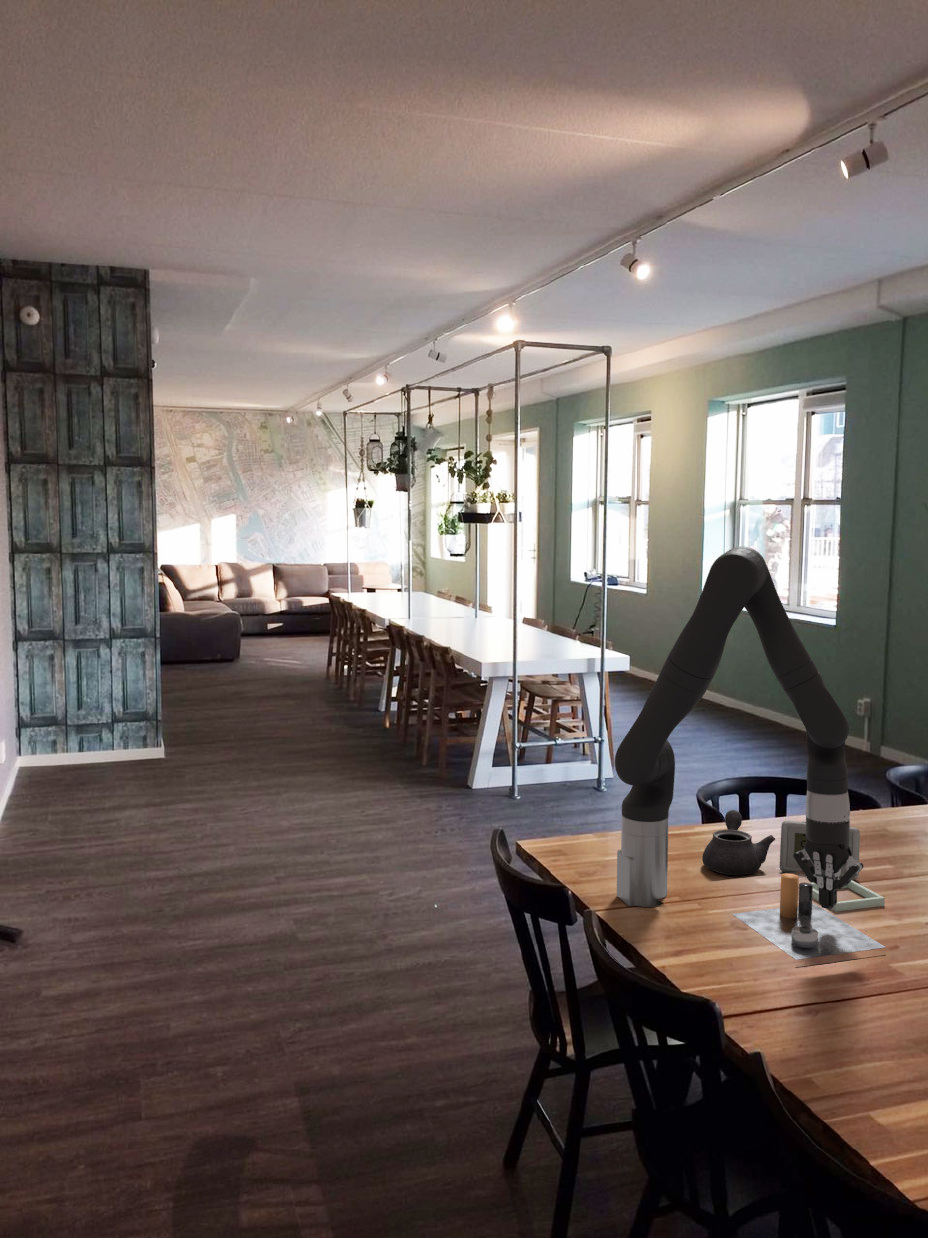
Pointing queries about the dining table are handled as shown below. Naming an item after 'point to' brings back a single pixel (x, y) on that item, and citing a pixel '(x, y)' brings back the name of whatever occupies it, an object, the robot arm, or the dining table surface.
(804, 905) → the crank
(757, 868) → the teapot
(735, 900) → the dining table surface
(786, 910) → the pin
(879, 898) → the tray
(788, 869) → the digital clock
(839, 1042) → the dining table surface
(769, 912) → the crank base
